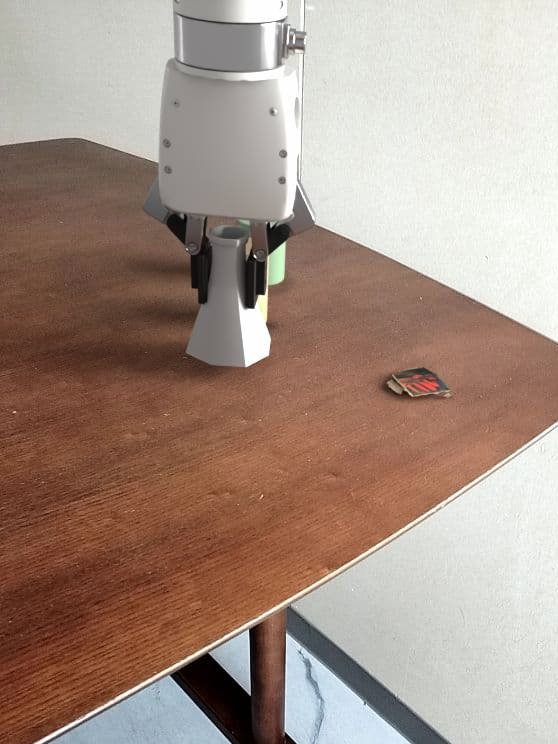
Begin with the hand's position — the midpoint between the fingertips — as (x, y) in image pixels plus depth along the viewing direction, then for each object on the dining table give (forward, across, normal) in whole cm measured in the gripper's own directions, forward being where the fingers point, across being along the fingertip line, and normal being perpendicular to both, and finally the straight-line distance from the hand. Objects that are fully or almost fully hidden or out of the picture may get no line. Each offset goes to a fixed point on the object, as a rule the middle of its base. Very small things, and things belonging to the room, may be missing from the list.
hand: (229, 297), depth 70 cm
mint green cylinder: (+6, 0, -18) cm, 19 cm away
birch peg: (+6, 0, -8) cm, 10 cm away
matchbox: (+6, -16, +1) cm, 17 cm away
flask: (+5, 0, 0) cm, 5 cm away
